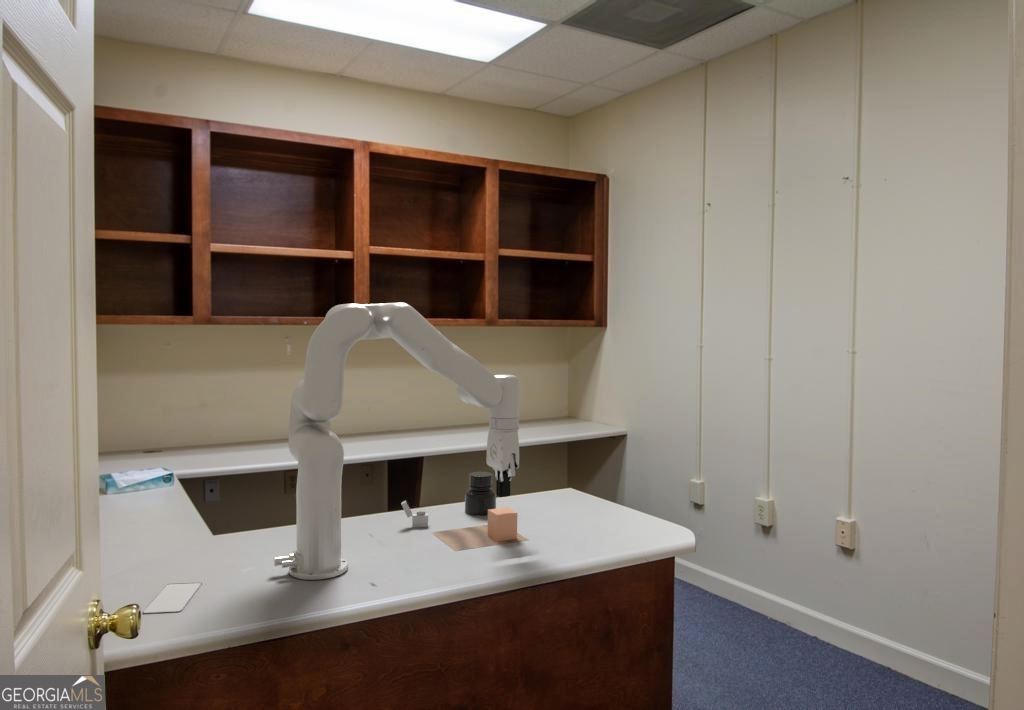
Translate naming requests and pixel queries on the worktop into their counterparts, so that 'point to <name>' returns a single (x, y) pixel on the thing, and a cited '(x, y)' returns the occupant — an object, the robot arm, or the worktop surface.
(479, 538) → the base board
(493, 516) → the salmon orange block
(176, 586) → the smartphone
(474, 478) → the ink bottle
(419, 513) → the lighter
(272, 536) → the worktop surface
